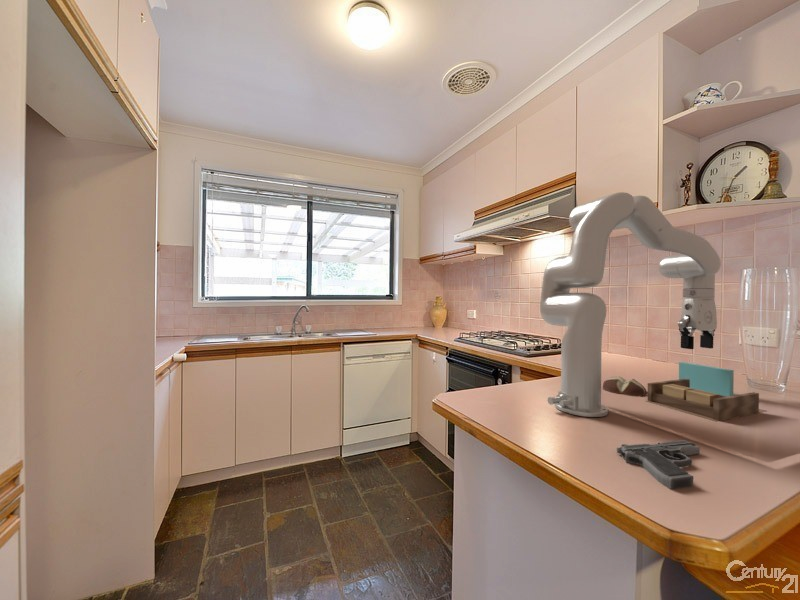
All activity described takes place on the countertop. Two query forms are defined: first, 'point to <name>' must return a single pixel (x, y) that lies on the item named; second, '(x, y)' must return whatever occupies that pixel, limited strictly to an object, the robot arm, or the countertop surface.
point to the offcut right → (701, 397)
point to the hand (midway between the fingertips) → (696, 348)
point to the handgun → (663, 461)
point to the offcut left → (675, 391)
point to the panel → (708, 378)
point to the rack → (721, 406)
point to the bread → (624, 386)
